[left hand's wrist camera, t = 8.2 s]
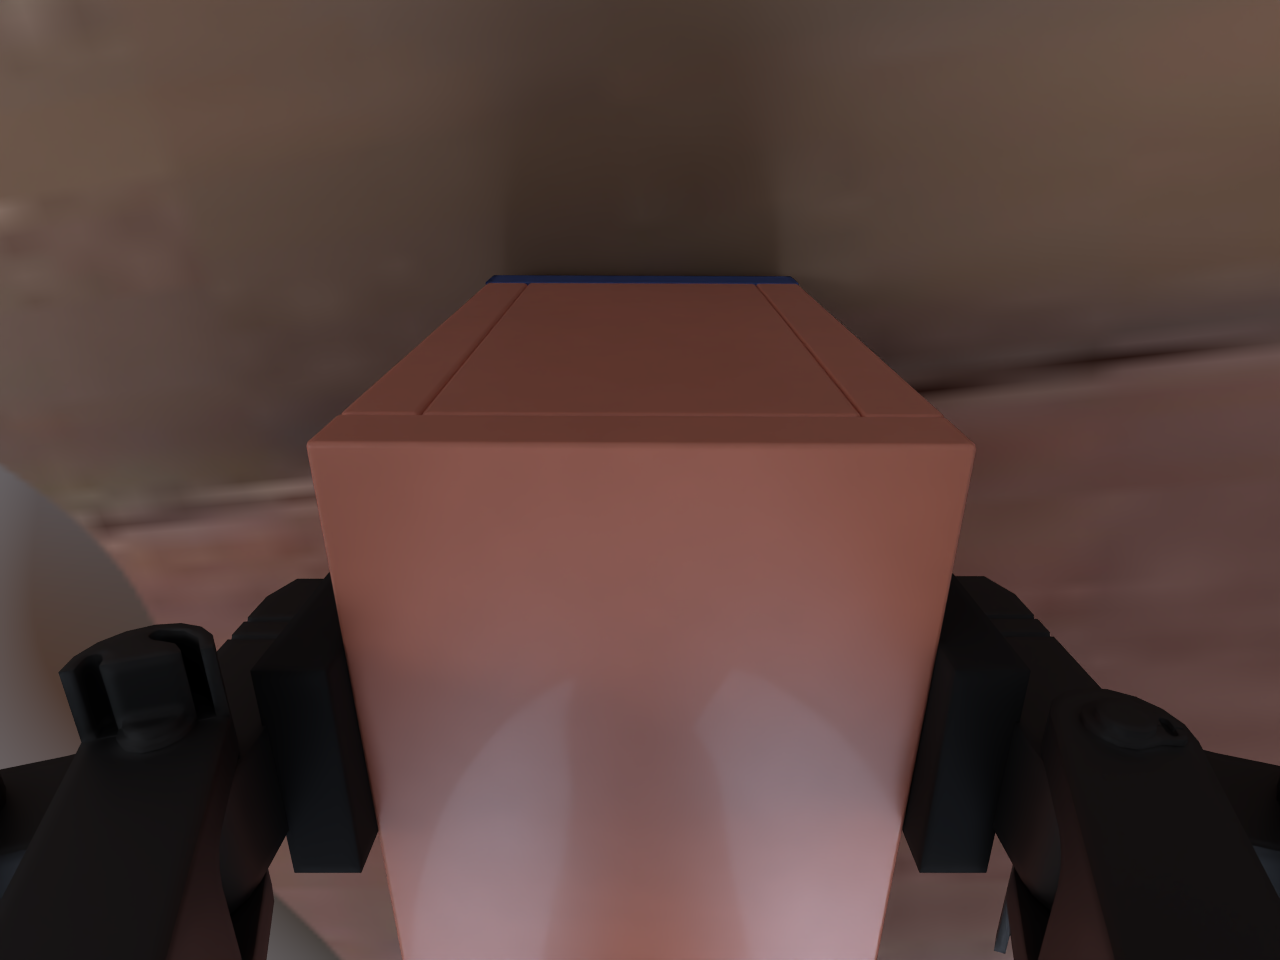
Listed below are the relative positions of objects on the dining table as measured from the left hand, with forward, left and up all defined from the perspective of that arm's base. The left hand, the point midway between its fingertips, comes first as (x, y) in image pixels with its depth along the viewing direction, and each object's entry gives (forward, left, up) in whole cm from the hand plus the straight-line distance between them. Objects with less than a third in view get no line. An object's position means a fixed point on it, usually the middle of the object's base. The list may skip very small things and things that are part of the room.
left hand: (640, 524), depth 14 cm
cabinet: (+4, +1, -4) cm, 6 cm away
